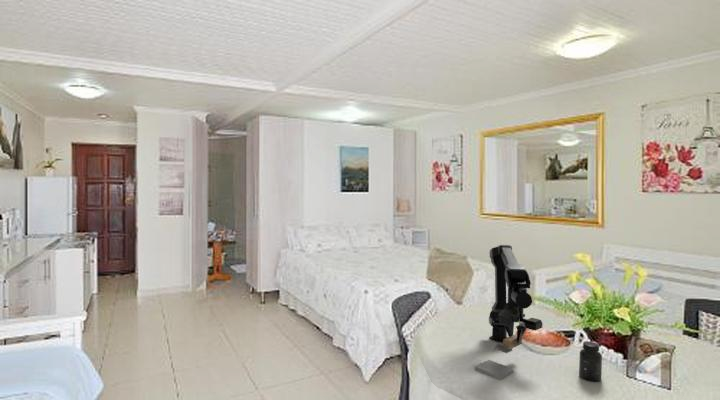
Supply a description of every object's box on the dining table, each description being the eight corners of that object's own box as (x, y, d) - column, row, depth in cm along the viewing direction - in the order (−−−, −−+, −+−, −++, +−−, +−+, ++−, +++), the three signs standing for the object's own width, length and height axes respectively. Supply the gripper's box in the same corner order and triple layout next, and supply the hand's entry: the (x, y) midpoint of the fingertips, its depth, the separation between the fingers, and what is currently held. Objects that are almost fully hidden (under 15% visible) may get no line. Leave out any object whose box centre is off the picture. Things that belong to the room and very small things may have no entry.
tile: (489, 359, 156) (475, 366, 150) (513, 369, 148) (499, 376, 143) (489, 365, 156) (474, 371, 150) (513, 374, 148) (499, 382, 143)
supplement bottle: (574, 375, 147) (575, 341, 146) (588, 372, 149) (589, 339, 149) (591, 383, 140) (592, 348, 140) (606, 380, 143) (607, 346, 143)
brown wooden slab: (512, 340, 162) (512, 333, 161) (524, 344, 158) (524, 336, 158) (494, 349, 153) (494, 341, 153) (506, 353, 149) (506, 345, 149)
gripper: (481, 299, 159) (481, 339, 160) (528, 310, 145) (527, 354, 145) (497, 294, 166) (497, 332, 167) (543, 304, 152) (542, 346, 153)
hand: (514, 341), depth 158 cm, fingers closed on brown wooden slab, 3 cm apart
